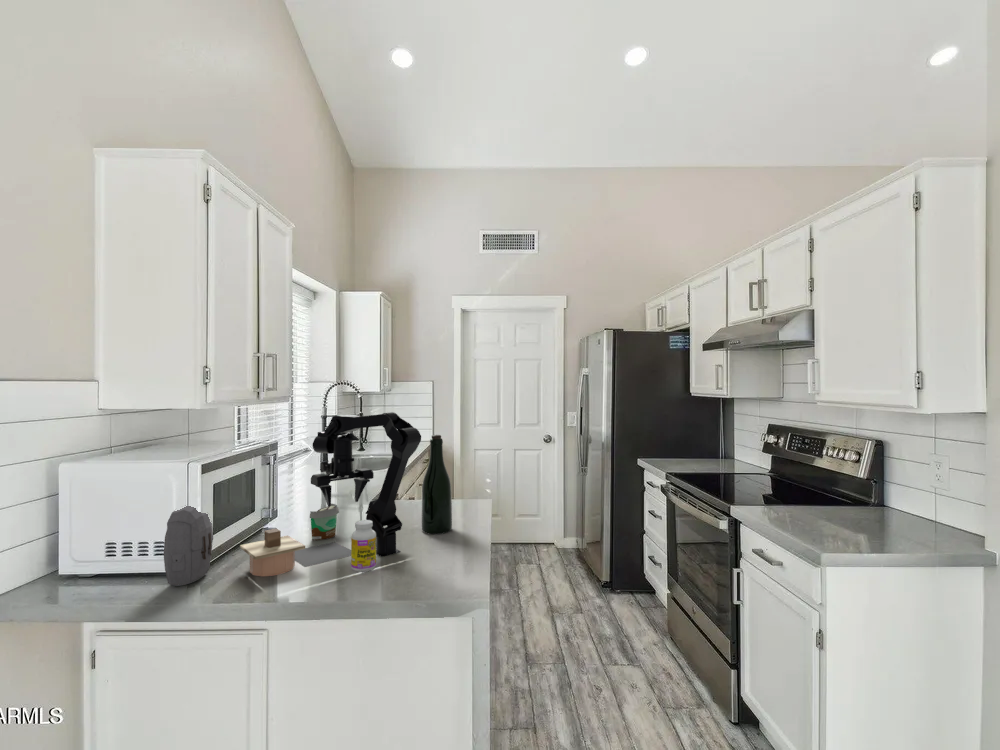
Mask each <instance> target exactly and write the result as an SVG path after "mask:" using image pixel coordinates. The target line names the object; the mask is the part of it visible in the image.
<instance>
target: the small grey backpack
mask: <svg viewBox="0 0 1000 750" xmlns="http://www.w3.org/2000/svg"><path fill="white" fill-rule="evenodd" d="M185 506H186V505H185ZM208 514H209V513H208ZM208 514H206V513H201V512H198V511H197V510H196V508H194V507H191V506H186V507H184V508H182V509H180V510H177V511H175V510H173V511H172V512H171V514H170V516H169V519H168V520H167V522H166V531H165V534H164V542H163V543H164V544H163V563H164V571H165V575H166V580H167V584H168V585H169V586H175V587H178V586H185V585H188V584H191V583H194V582H196V581H198V580H200V579H201V578H203V577H204V576H205V575H207V573H208V572H209V570H210V564H211V561H212V560H211V559H212V555H213V553H212V552H213V542H214V541H213V540H214V530H213V529H214V528H213V523H211V522H212V521H211V522H210V519H209V517H208Z"/></svg>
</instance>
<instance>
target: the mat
mask: <svg viewBox="0 0 1000 750" xmlns="http://www.w3.org/2000/svg"><path fill="white" fill-rule="evenodd" d="M347 557H348V558H349V557H351V549H350V548H348V547H346V546H344V545H342V544H340V543H338V542H336V541H332V542H326V543H323V544H318V545H314V546H309V547H305V549H302V550H297V551H295V563H298V564H299V565H301V566H302V567H304V568H309V567H311V566H315V565H319V564H324V563H328V562H332V561H335V560H340V559H343V558H347Z"/></svg>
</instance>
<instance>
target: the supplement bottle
mask: <svg viewBox="0 0 1000 750" xmlns="http://www.w3.org/2000/svg"><path fill="white" fill-rule="evenodd" d="M372 526H373V522H372V521H371V520H366V519H362V520H357V521H355V523H354V528H355V530H354V531H353V532H352V533H351V535H350V536H351V537H350V538H351V541H350V542H351V543H350V545H351V547H350V548H351V549H350V550H351V556H350V558H351V559H350V560H351V563H350V567H351V570H352V571H354V572H359V573H367V572H369V571H373V570H374V569H375V568H376V566H377V554H376V532H375V531H374V530H372Z"/></svg>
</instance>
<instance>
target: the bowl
mask: <svg viewBox="0 0 1000 750" xmlns="http://www.w3.org/2000/svg"><path fill="white" fill-rule="evenodd" d="M295 563H296V561H295V551H293V552H288V553H284V554H279V555H275V556H270V557H266V558H261V559H257V560H255V559H254V558H252V557H251V556H250V555H249V573H250V574H251V575H252V576H257V577H271V576H272V577H273V576H277V575H278V576H279V575H282V574H286V573H288V572H289V571H291V570H293V569H294V568H295V566H296V564H295Z"/></svg>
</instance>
